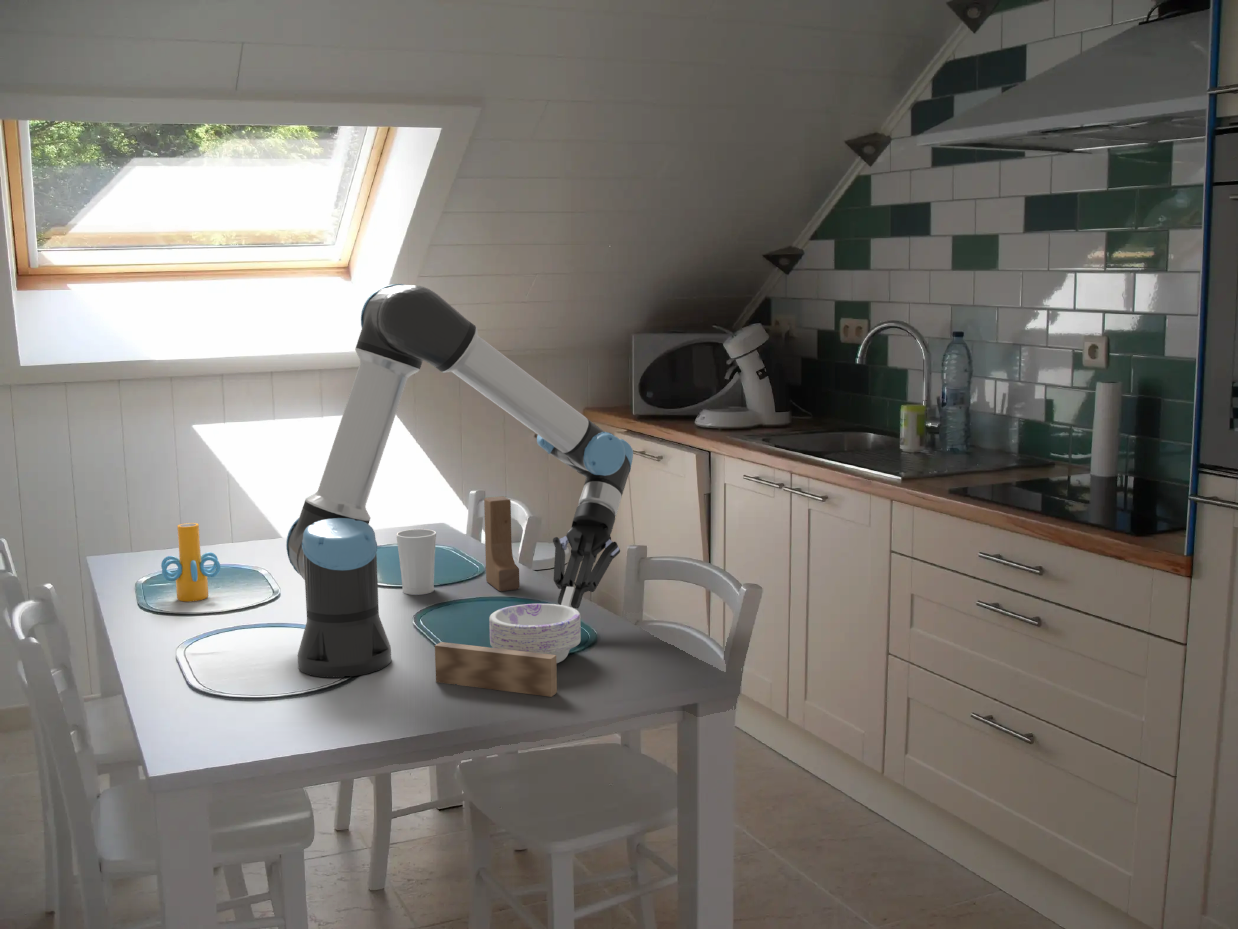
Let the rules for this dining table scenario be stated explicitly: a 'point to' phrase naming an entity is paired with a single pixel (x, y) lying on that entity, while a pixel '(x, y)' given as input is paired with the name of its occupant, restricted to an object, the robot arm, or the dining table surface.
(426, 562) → the cup
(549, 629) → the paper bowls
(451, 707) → the dining table surface
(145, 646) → the dining table surface
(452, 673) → the rail
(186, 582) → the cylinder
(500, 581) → the wooden block
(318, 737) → the dining table surface
